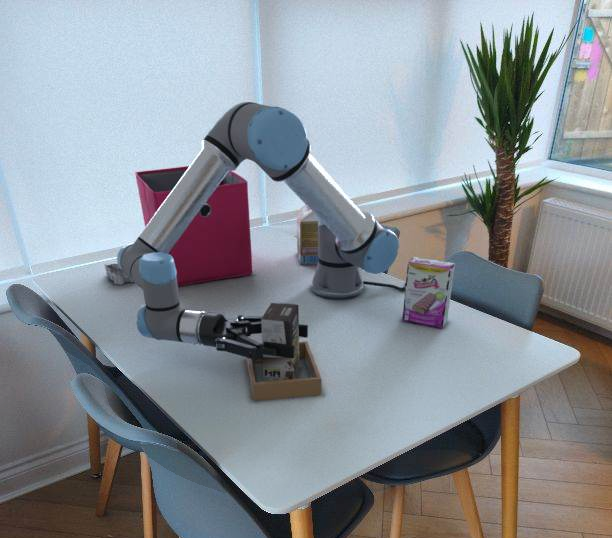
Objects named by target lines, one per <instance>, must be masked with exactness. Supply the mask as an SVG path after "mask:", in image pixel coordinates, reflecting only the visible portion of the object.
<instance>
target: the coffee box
mask: <svg viewBox="0 0 612 538" xmlns="http://www.w3.org/2000/svg"><path fill="white" fill-rule="evenodd" d="M299 308H300V307H299V304H298V303H297V304H296V303H283V302H282V303H281V302H280V303H277V302H270V304H269V306H268V307H267V309H266V310H265V312H264V314H263V315H262V316H263V317H262V319H261V325H262V333H261V343H262V344H263V346H264V342H272V343H280V344H287V345H294V358H285V357H278V356H271V355H264V354H263V361H262V373H263V374H262V375H263V382H269V381H280V380H291V379H296V377H297V375H298V374H299V373H298V372H299V370H300V358H299V342H300V337H299V324H300V320H299V318H300V317H299V315H300V314H299V313H300V311H299V310H300V309H299Z"/></svg>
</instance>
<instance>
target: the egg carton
mask: <svg viewBox="0 0 612 538" xmlns="http://www.w3.org/2000/svg"><path fill="white" fill-rule="evenodd" d="M103 266H104V269H105V272H106V277H107V278H109V279H110V281H113V283H114V285H124V284H125V283H135V282H134V281H132V280H131V279H130V278H128V277H127V276H126V275H125V274H124V273H123V271H122V270H121V269H120V267H119V265H118V263H110V264H105V263H104V265H103Z"/></svg>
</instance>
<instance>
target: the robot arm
mask: <svg viewBox="0 0 612 538" xmlns="http://www.w3.org/2000/svg"><path fill="white" fill-rule="evenodd" d="M307 136H308V134H307V130H306V128H305V126H304V124H303V122H302V120H301V119H300V118H299V117H298V116H297V115H296V114H295V113H293V112H292V111H290V110H288V109H287V108H284V107H280V106H273V105H272V106H271V105H265V104H262V103H261V104H260V103H258V102H252V101H244V102H240V103H237V104H235V105H233V106H231V108H229V109H228V110H227V111H225V112H224V113H223V114H222V115H221V117H219V119H218V120H217V121H216V122H215V123H214V125H212V127H211V129H209V131H208V132H207V134H206V135H205V136H204V138H203V139H202V141H201V146H202V147H201V150H200V152H198V154H197V156H196V157H195V158H194V159H193V161H192V162H191V164H190V165H189V166H190V167H189V168H188V169H187V171H186V172H185V174H184V175H183V176H182V178H181V179H180V180H179V182H178V183H177V185H176V186H175V187H174V189H173V190H172V191H171V193H170V194H169V196H168V197H167V198H166V200H165V201H164V202H163V204H162V205H161V207H160V208H159V209H158V211H157V212H156V213H155V215H154V216H153V218H152V219H151V220H150V222H149V223H148V224H147V226H146V227H145V226H144V229H143V230H142V231H141V232H140V234H139V235H138V237H137V238H136V240H135V241H134V242H132V243H127V244H125V245H123V246H122V247H121V248H120V249H119V250H118V253H117V257H116V262H117V263H116V264H118V265H119V267H120V269H121V270H122V271H123V273H124V274H125V275H126V276H127V277H128V278H130V279H131V280H132V281H134V282H133V283H134V284H136V285H137V286H138V287H139V288H140V290H142V292H143V299H144V302H145V303H144V305H142V306H141V307H140V308H139V309H138V311H137V313H136V318H137V320H136V329H137V331H138V332H139V334H140V335H141V336H143V337H146V338H151V339H154V340H157V341H168V342H169V341H170V342H177V343H178V342H179V343H185V344H192V345H193V346H196V345H197V346H201V345H203V347H204V346H205V347H212V348H215V349H216V351H218V352H227V353H230V354H233V355H237V356H240V357H244V358H245V359H246V358H250V359H257V356H258V359H262V358H263V354H264V355H271V356H278V357H285V358H294V345H287V344H280V343H272V342H264V346H263V344H262V342H259V341H258V340H255V339H253V338H251V336H252V335H260V334H262V325H261V319H262V317H263V315H245V314H238V315H237V319H236V320H234V319H233V320H228V319H227V318H226V317H225V316H224V314H222V313H219V312H218V313H217V312H210V311H204V310H195V309H187V308H181V303H180V295H179V286H178V284H177V270H176V268H175V263H174V259H173V257H172V256H171V255H169V254H168V253H169V252H170V250H171V249H172V247H173V246H174V245H175V243H176V242H177V241H178V239H179V238H180V237H181V235H182V234H183V233H184V231H185V230H186V229H187V227H188V226H189V224H190V223H191V222H192V220H193V219H194V218H195V216H196V215H197V214H198V212H199V211H200V210H201V208H202V207H203V206H204V204H205V203H206V201H207V200H208V199H209V197H210V196H211V195H212V193H213V192H214V191H215V189H216V188H217V187H218V185H219V184H220V183H221V181H222V180H223V179H224V177H225V176H226V174H227V173H228V172H229V171H232V172H235V171H236V170H237V169H238V168H239V166H240V165H241V163H243V162H244V161H245V160H249V161H252V162H254V163H255V164H256V165H257V166H258V167H259V168H260V169H261V170H262V171H263V172H264V173H265V174H266V175H267V176H268V177H269V178H270V179H271V180H272V181H274V182H276V183H277V182H279V183H281V182H283V183H284V184H285V185H286V186H287V187H288V188H289V189H290V190H291V191H292V192H293V193H294V194H295V195H296V197H298V198H299V200H301V202H302V203H304V205H307V206H308V208H309V209H310V210H311V211H312V212H313V213H314V214H315V215H316V216H317V217H318V218H319V222H318V264H316V265H317V266H316V269H315V272H314V275H313V278H312V281H311V291H312V292H313V294H316V295H317V296H320V297H323V298H326V299H336V300H339V299H340V300H341V299H344V300H345V299H350V298H351V299H352V298H355V297H357V296H359V295H361V294H362V293H363V292H364V285H366V286H375V287H382V288H389V289H395V290H397V291H399V292H400V291H401V292H403V291H404V292H405V288H406V282H405V283H404V286H403V287H400V286H399V285H396V284H395V285H394V284H389V283H383V282H374V281H366V280H363V276H362V273H361V270H362V271H364V272H366V273H369V274H373V275H379V274H380V275H381V274H382V273H384V272H387V271H388V270H389V269H390V268H391V266H392V265H393V264H394V263H395V261H396V259H397V256H398V254H399V248H400V241H399V238H398V236H397V235H396V234H395V233H394V232H393V231H392V230H390V229H386V228H384V227H383V226H382V225H381V224H380V223H379V221H377V219H376V218H375V217H374V216H373V215H372V214H371V213H370V212H368V211H361V210H360V209H359V208H358V206H357V205H356V204H355V203H354V202H353V201H352V200H351V199H350V197H349V196H348V195H347V194H346V193H345V192H344V190H343V189H342V188H341V187H340V186H339V185H338V184H337V183H336V181H335V180H334V179H333V178H332V176H330V174H329V173H328V172H327V171H326V170H325V168H323V166H322V165H321V164H320V163H319V161H318V160H317V159H316V158H315V157H314V156H313V154H312V153H311V151H312V145H311V142H310V140H309V138H307ZM308 336H309V325H308V324H301V323H299V338H306V339H307V338H308ZM250 352H251V353H250Z"/></svg>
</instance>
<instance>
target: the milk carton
mask: <svg viewBox="0 0 612 538" xmlns="http://www.w3.org/2000/svg"><path fill="white" fill-rule="evenodd" d="M318 222H319V218H318V217H317V216H316V215H315V214H314V213H313V212H312V211H311V210H310V209H309V208H308V206H307V205H306V204H304V205H303V206H302V207H301V208H300V209H298V211H296V252H297V253H296V254H297V258H298V262H299V265H300V266H308V265H311V266H312V265H318Z"/></svg>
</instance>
